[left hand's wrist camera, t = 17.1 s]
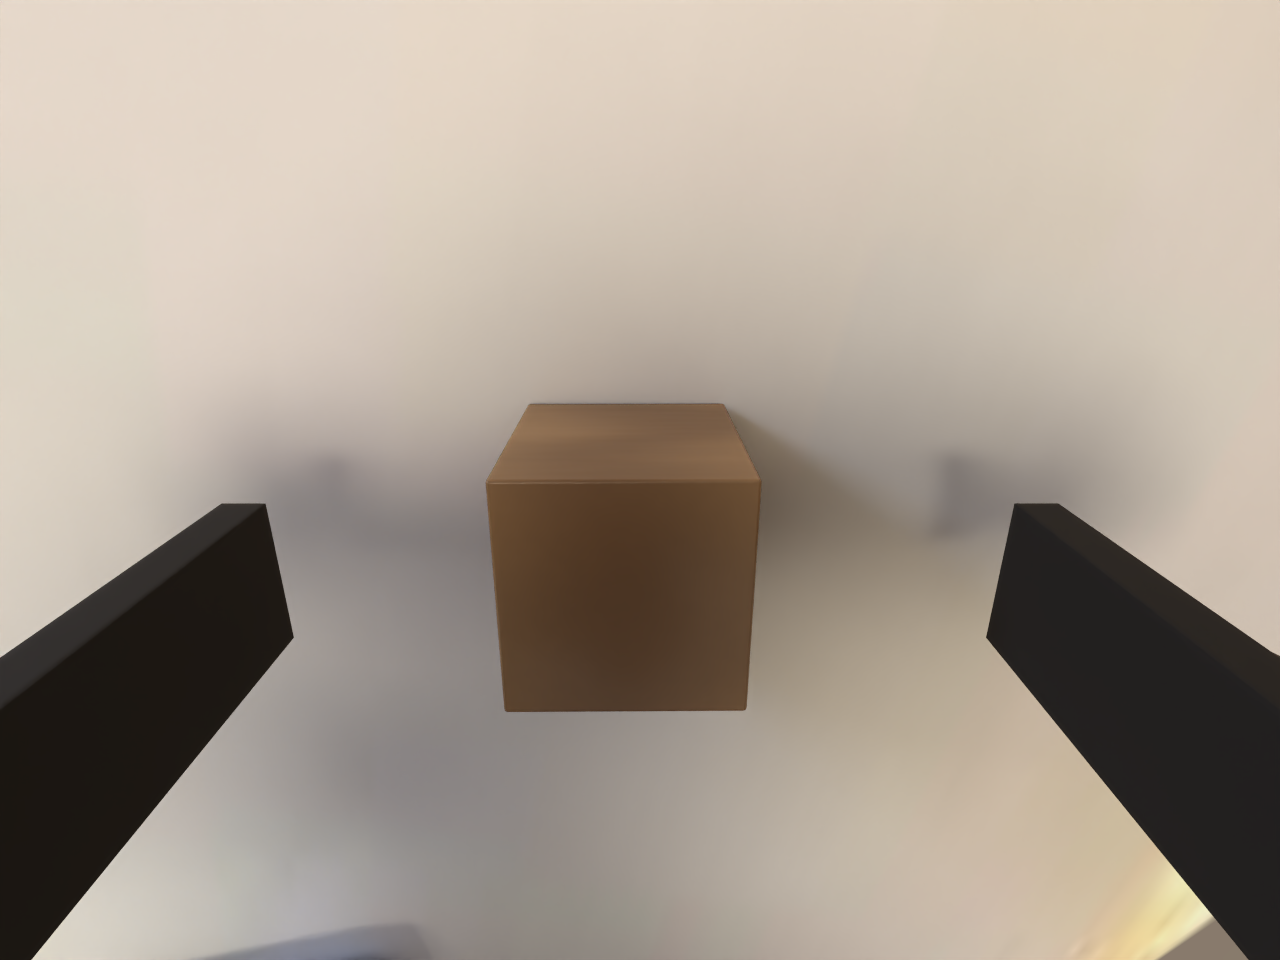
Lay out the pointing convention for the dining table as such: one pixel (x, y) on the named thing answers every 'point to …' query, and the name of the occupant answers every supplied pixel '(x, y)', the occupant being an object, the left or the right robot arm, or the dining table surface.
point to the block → (624, 558)
